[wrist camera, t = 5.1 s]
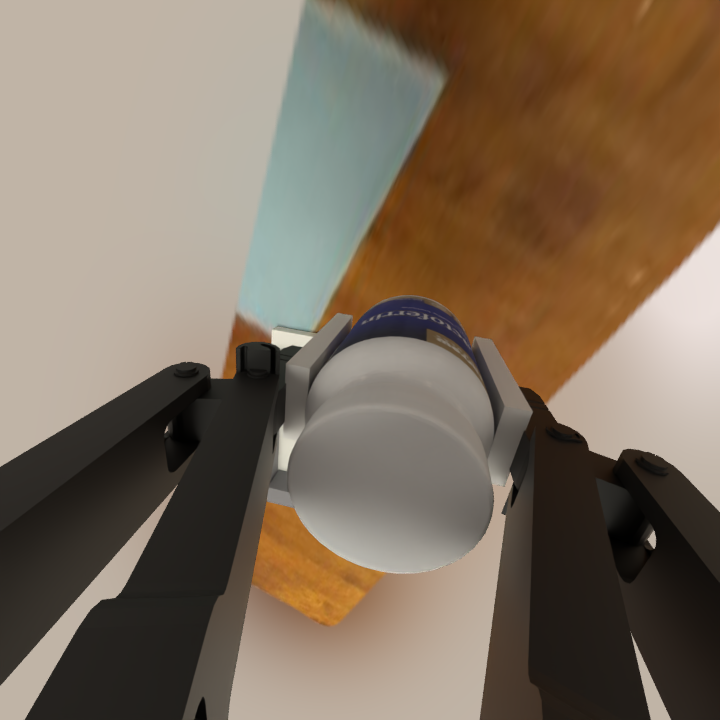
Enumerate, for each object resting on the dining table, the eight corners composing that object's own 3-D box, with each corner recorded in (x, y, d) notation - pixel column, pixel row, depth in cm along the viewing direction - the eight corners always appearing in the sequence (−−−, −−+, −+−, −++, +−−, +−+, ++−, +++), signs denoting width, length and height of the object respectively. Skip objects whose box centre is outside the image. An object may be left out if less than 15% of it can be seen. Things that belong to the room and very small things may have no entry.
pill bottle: (484, 307, 15) (573, 428, 6) (449, 413, 17) (474, 619, 8) (361, 281, 16) (271, 355, 7) (342, 387, 18) (256, 553, 9)
